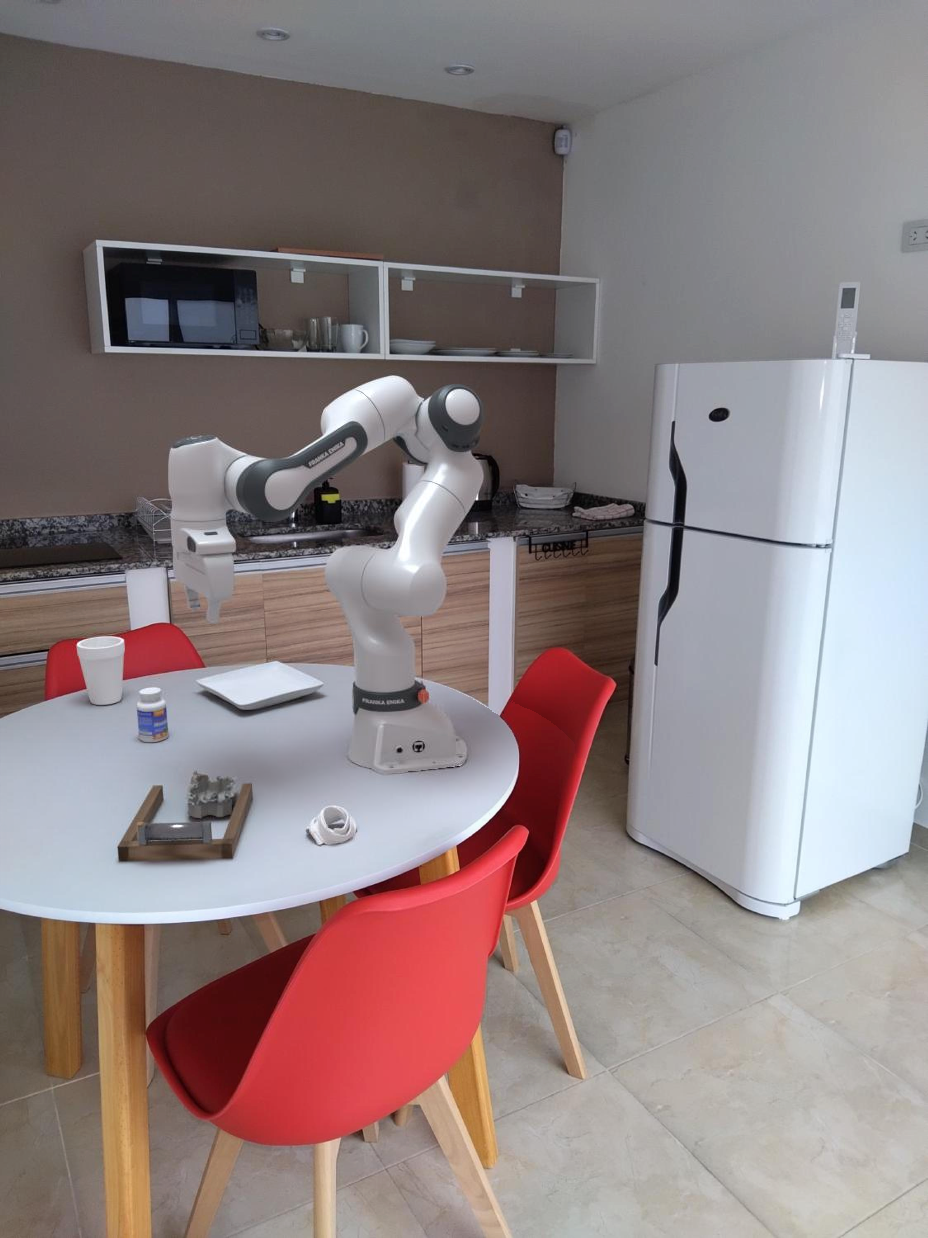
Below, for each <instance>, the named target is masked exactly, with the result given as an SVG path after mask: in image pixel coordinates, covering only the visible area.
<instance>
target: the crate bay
mask: <svg viewBox="0 0 928 1238" xmlns="http://www.w3.org/2000/svg"><path fill="white" fill-rule="evenodd" d="M163 787H164V786H163V784H162V785H161V784H160V785H158V784H157V785H156V784H155V785H152V787H151V788H150V790H149V791H148V794H147V795H146V797H145V798H144V800H143V802H142V804H141V805H140V807H139V809H138V811H137V812H136V814H135V816H134V818H133V819H132V821H131V823H130V824H129V826H128V828H127V830H126V831H125V833H124V834H123V836H122V838H121V839H120V841H119V844H118V845H117V847H116V848H117V859H118V863H119V862H147V861H148V862H151V861H153V862H154V861H155V862H157V861H186V860H187V861H190V860H191V861H192V860H193V861H194V860H230V859H231V860H232V859H233V858H234V855H235V852H236V850H237V847H238V843H239V841H240V837H241V835H242V832H243V829H244V826H245V823H246V820H247V817H248V814H249V812H250V808H251V805H252V802H253V799H254V793H253V791H254V790H253V782H248V783H247V782H243V783H242V785H241V788H240V790H239V793H238V796H237V799H236V801H235V804H234V807H233V808H232V814H231V815H230V818H229V819H228V820H229V821H228V824H227V827H226V829H225V832H224V835H223V837H222V838H212V841H211V844H203V839H188V840H153V841H149V842H148V843H147V845H146V846H139V840H138V837H137V826H136V825H137V823H138V822H144V823H145V822H147V823H152V822H153V820H154V819H155V816H156V814H157V813H158V812H159V809H160V807H161V806H162V804H163V803H164V801H165V799H164V798H165V797H164V790H163V789H164V788H163Z"/></svg>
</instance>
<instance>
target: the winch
mask: <svg viewBox="0 0 928 1238" xmlns="http://www.w3.org/2000/svg"><path fill="white" fill-rule="evenodd" d="M136 826H137V837H138V840H139V846H146V845H147V843H148V842H149V841H159V840H195V839H203V844H211V841H212V839H213V833H212V832H213V831H212V830H213V829H212V820H204V821H190V822H188V821H187V822H153V823H152V822H151V823H147V822H145V823H144V822H138V823H137V825H136Z"/></svg>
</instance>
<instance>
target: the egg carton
mask: <svg viewBox="0 0 928 1238" xmlns="http://www.w3.org/2000/svg"><path fill="white" fill-rule="evenodd" d="M215 778H216V779H212V780H211V779H210V778H209V776H208V774H207V773H200V772H199V773H198V771H197V770H194V771H193V772H192V775H191V778H190V779H191V780H190V783H189V786H188V789H187V792H186V795H185V796H186V805H187V808H188V810H187V816H190V817H191V816H192V817H193V818H196V819H197V818H199V819H202V818H203V817H206V816H212V817H213V816H215V817H216V818H223V817H225V816H231V815H232V812H233V804H234V797H235V793H236V792H235V791H236V789H237V786H238V779H239V778H238V777H237V776H234V777H231V776H228V775H227V776H226V777H221V776H220V775H217V776H216V777H215Z"/></svg>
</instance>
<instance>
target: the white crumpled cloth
mask: <svg viewBox="0 0 928 1238" xmlns="http://www.w3.org/2000/svg"><path fill="white" fill-rule="evenodd" d="M339 821H343V822H344V825H343V827H342V828H339V827H337V828H336V827H335V828H333V829H332V828H329V826H331V825H332V824H334V823H337V822H339ZM356 832H357V822H356V820H355V818H354V817H353V816H351V815H350V814H349V812H348V810H346V809H345V808H343V807H342V806H338V805H327V806H325V807H324V808H322V809H321V810H320V812H319V814H318V815H317V816H315V817H314V818H312V819H311V821H310V822H309V824H308V826H307V827H306V829H305V833H307V834H310V835H311V836H312V838H313V839H314V840H315V843H316V844H317V845H318V846H321V845H323V844H325V845H327V846H330V845H331V846H332V845H335V844H336V845H337V844H342V843H345V842H346V841H348V840H350V839H351V838H352V837H354V836H355V835H356Z"/></svg>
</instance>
